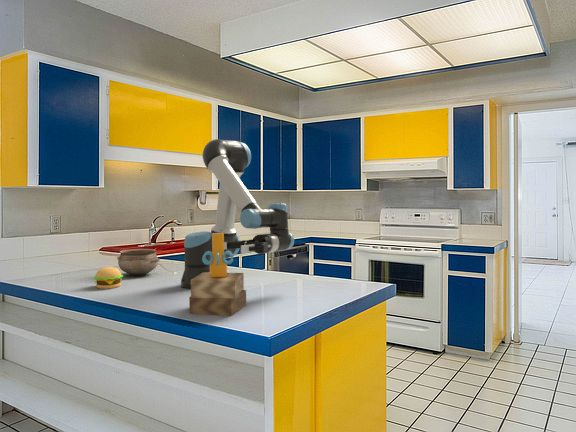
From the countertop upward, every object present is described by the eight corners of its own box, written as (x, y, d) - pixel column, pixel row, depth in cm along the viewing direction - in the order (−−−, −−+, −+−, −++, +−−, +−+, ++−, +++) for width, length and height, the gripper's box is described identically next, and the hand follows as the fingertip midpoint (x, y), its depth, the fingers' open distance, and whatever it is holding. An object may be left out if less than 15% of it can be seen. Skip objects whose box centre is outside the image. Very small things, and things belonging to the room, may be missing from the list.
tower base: (189, 314, 154) (189, 297, 154) (207, 304, 169) (207, 288, 169) (231, 317, 151) (231, 299, 151) (246, 306, 165) (246, 290, 165)
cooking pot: (170, 273, 234) (170, 249, 233) (147, 280, 216) (146, 254, 215) (130, 270, 242) (130, 247, 242) (104, 276, 225) (104, 252, 224)
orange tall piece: (204, 274, 165) (203, 232, 164) (233, 273, 166) (232, 231, 165) (202, 279, 152) (201, 234, 152) (233, 278, 154) (232, 234, 153)
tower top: (190, 297, 153) (190, 280, 153) (203, 288, 168) (203, 272, 168) (235, 298, 152) (235, 280, 151) (243, 289, 167) (243, 272, 166)
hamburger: (128, 285, 204) (128, 265, 204) (111, 290, 193) (111, 270, 192) (105, 283, 207) (105, 264, 207) (87, 288, 196) (87, 268, 196)
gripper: (290, 255, 172) (254, 261, 155) (241, 251, 187) (202, 256, 169) (290, 235, 172) (254, 239, 154) (241, 232, 186) (202, 236, 169)
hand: (227, 248), depth 162 cm, fingers open, 13 cm apart
